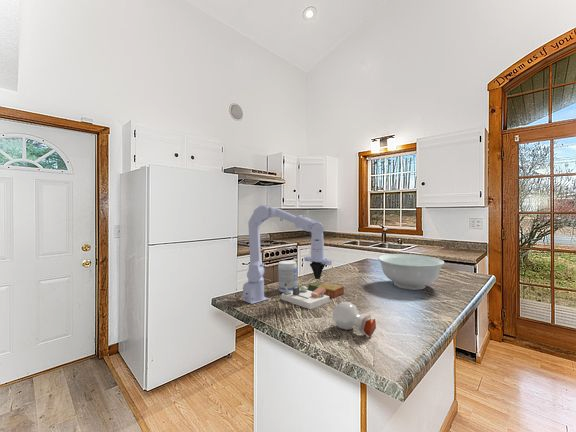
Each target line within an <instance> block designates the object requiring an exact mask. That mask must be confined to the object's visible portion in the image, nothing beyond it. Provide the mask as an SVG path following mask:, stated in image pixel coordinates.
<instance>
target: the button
mask: <svg viewBox="0 0 576 432" xmlns="http://www.w3.org/2000/svg"><path fill="white" fill-rule="evenodd" d="M299 289H300V291H301V292H306V290H307V286H305V285H301V286H299Z"/></svg>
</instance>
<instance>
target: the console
mask: <svg viewBox="0 0 576 432" xmlns="http://www.w3.org/2000/svg"><path fill="white" fill-rule="evenodd" d="M311 293H312V291H309V290H308V289H306V292H301V291H300V294H298V295H293V291H290V292H282V293H281V300H283V301H285V302H288V303H291V304H293V305H296V306H300V307H302V308H305V309H308V310H311V309H314V308H318V307H320V306H323V305H326V304H328V303H331V302H330V300H331V299H330V298H331V297H330V296H326V295H324V293H321V296H319V297H318V298H316V297H313V296H311Z"/></svg>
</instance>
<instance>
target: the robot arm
mask: <svg viewBox="0 0 576 432" xmlns="http://www.w3.org/2000/svg"><path fill="white" fill-rule="evenodd" d="M270 218H280V219H283V220H286V221H288V222H291V223H293V225H294V226H295V227H296V228H298V229H301V230H302V231H305V232H310V233H311V238H310V256H304V257H303V258H304V259H303V261H304V262H310V263H309V266H310V268H311V270H312V273H313V275H314V279H315V280H320V279H321V276H322V274H323V273H322V272H323V270H324V269H325V267H326V266H331V265H333V264H332V260H331V259H327V258H325V248H324V247H325V246H324V245H325V243H324V242H325V241H324V240H325V239H324V232H325V228H324V224H322V223H321V222H320V221H317V220H316V219H311V218H309V217H306V215H305V214H302V215H301V214H300V215H297V216H296V215H294V214H292V213H289V212H287V211H285V210H282V209H280V208H278V207H274V206H270V205H268V204H267V205H264V204H263V205H258V207H257V208H255V209H254V210H253V213H252V214H251V217H250V218H249V220H248V242H249V243H248V245H249V264H248V271H247V272H246V273H247V274H246V277H247V279H248V280H247V282H244V283H243V285H242V299H241V300H242V301H244V302H246V303H249V304H250V305H253V304H256V303H260V302H263V301H267V300H269V298H268V297H267V296H265V279H264V275H265V271H266V270H265V267H264V265H263V260H262V252H261V251H262V249H261V234H260V233H261V232H260V227H261V225H262V224H263V223H264V222H265V221H266V220H268V219H270Z"/></svg>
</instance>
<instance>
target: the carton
mask: <svg viewBox="0 0 576 432" xmlns="http://www.w3.org/2000/svg"><path fill="white" fill-rule="evenodd" d="M318 287H322V288H325V289H326V291H325V292H324V295H326V296H330V298H332V299H336V298H339V297H340V296H342V295H344V292H345V291H344V290H345V287H344V286H343V285H338V284H332V283H327V282H323V281H315V282H313V283H309V284H308V285H307V290H309V291H312V292H313V291H315V290H316V289H317V288H318Z"/></svg>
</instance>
